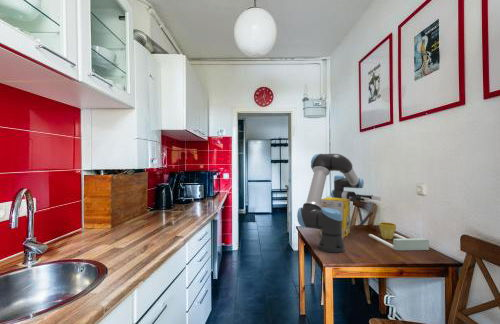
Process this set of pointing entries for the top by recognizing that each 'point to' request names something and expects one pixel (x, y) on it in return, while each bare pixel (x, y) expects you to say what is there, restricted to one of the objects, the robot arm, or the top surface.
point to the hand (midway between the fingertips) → (374, 199)
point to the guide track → (406, 243)
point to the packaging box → (343, 207)
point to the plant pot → (387, 230)
